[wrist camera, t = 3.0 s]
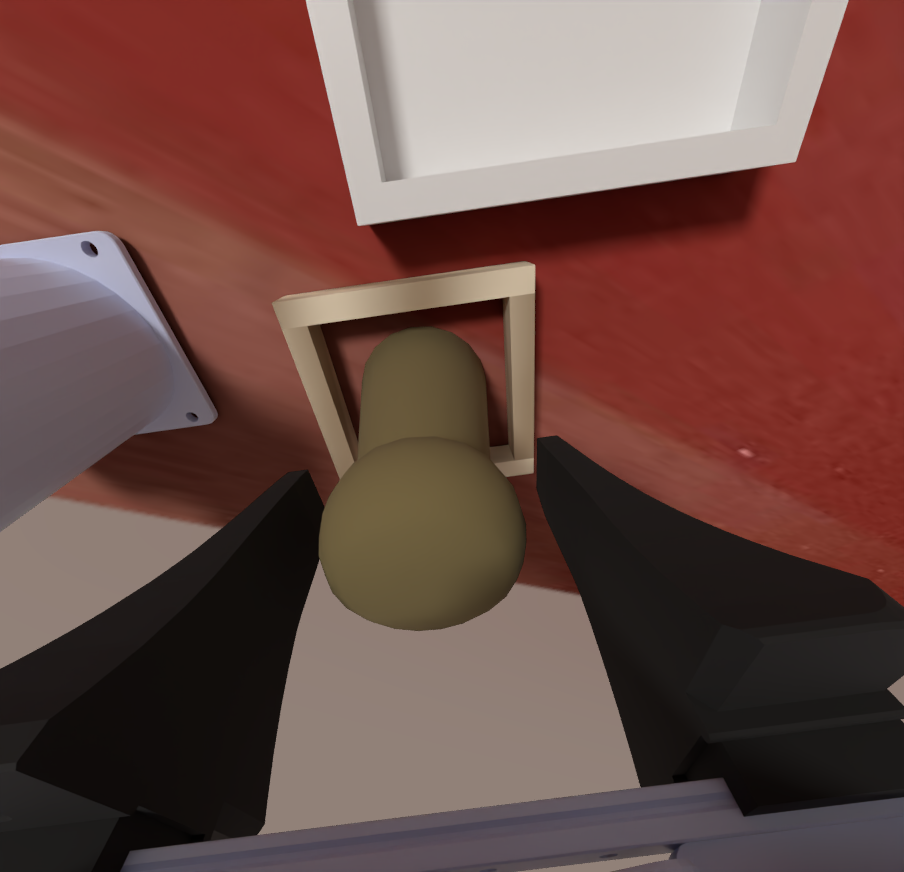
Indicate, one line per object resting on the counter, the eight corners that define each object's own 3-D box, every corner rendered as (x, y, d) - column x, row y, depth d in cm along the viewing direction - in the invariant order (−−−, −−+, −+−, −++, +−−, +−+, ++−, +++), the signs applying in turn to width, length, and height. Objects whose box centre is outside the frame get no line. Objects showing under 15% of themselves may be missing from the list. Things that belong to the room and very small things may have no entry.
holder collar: (352, 481, 19) (347, 499, 18) (285, 295, 14) (271, 302, 13) (526, 456, 19) (533, 473, 18) (525, 261, 14) (535, 264, 13)
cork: (492, 429, 18) (562, 643, 9) (382, 449, 18) (338, 679, 9) (477, 314, 15) (563, 461, 6) (344, 340, 15) (217, 523, 6)
